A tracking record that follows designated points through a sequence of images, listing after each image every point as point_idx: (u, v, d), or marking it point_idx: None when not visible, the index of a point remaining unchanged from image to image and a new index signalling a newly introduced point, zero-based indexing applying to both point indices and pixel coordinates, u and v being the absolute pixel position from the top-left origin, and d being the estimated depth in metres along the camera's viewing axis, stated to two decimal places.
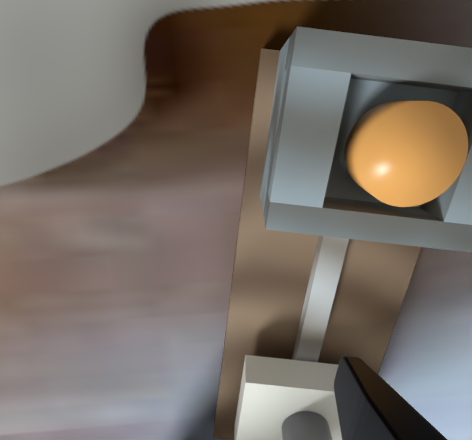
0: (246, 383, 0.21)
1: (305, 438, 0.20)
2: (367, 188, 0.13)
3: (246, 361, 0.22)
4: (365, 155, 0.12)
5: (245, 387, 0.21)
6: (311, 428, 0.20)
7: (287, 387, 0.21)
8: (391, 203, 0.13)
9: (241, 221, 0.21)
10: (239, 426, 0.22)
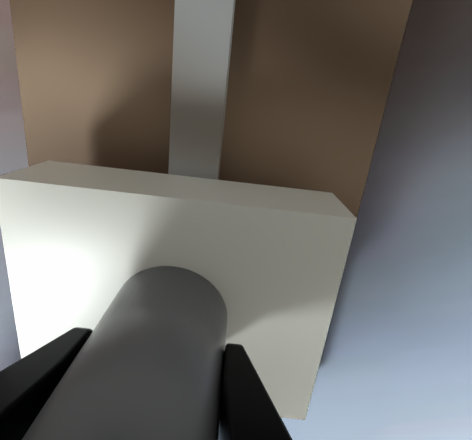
0: None
1: (127, 309, 0.07)
2: None
3: (39, 164, 0.10)
4: None
5: None
6: (158, 291, 0.08)
7: (103, 191, 0.08)
8: None
9: None
10: (16, 313, 0.09)
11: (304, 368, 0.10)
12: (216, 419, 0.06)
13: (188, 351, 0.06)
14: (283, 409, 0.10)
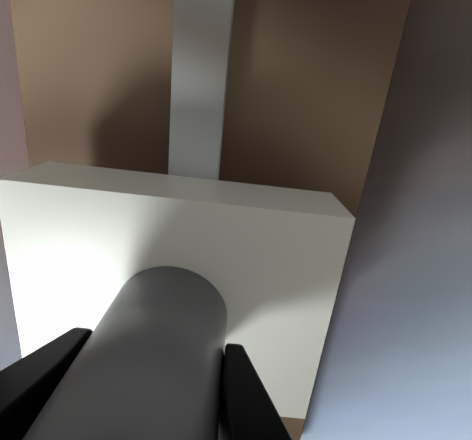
0: None
1: (127, 309, 0.07)
2: None
3: (39, 165, 0.10)
4: None
5: (0, 196, 0.08)
6: (158, 291, 0.08)
7: (103, 192, 0.08)
8: None
9: None
10: (17, 313, 0.09)
11: (304, 367, 0.10)
12: (215, 418, 0.06)
13: (188, 351, 0.06)
14: (283, 408, 0.10)
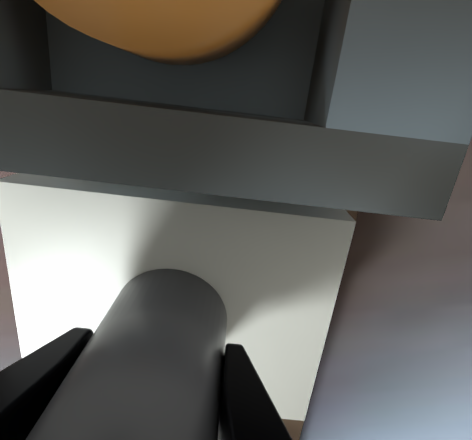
0: None
1: (127, 312, 0.07)
2: None
3: None
4: None
5: (0, 199, 0.08)
6: (158, 294, 0.08)
7: (103, 195, 0.08)
8: (108, 35, 0.04)
9: None
10: (17, 315, 0.09)
11: (303, 370, 0.10)
12: (215, 422, 0.06)
13: (188, 355, 0.06)
14: (282, 410, 0.10)
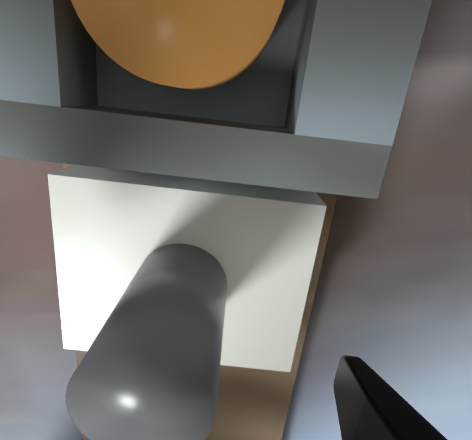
0: (50, 177, 0.10)
1: (152, 271, 0.09)
2: (99, 43, 0.06)
3: None
4: None
5: (51, 188, 0.10)
6: (175, 260, 0.10)
7: (132, 185, 0.10)
8: (155, 78, 0.06)
9: None
10: (59, 282, 0.12)
11: (288, 328, 0.12)
12: (219, 344, 0.08)
13: (199, 298, 0.09)
14: (272, 363, 0.13)
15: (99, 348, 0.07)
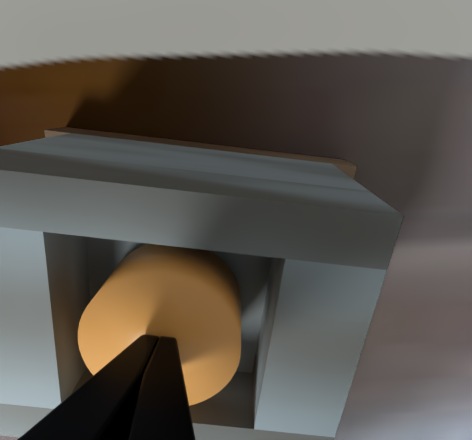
0: None
1: None
2: None
3: None
4: (86, 345, 0.08)
5: None
6: None
7: None
8: None
9: None
10: None
11: None
12: None
13: None
14: None
15: None
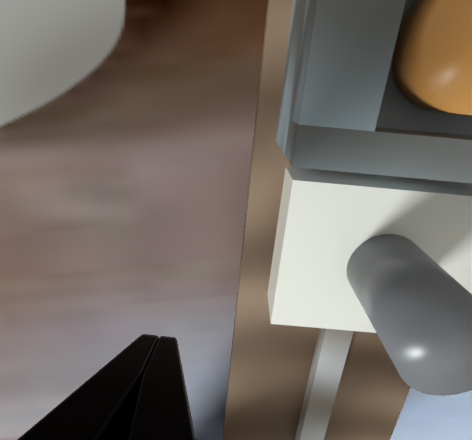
0: (294, 182, 0.13)
1: (398, 256, 0.12)
2: (432, 89, 0.09)
3: (289, 169, 0.14)
4: (432, 37, 0.09)
5: (292, 191, 0.13)
6: (404, 247, 0.12)
7: (360, 187, 0.13)
8: (465, 110, 0.09)
9: (252, 178, 0.16)
10: (280, 268, 0.14)
11: None
12: None
13: (451, 276, 0.11)
14: None
15: (432, 310, 0.09)
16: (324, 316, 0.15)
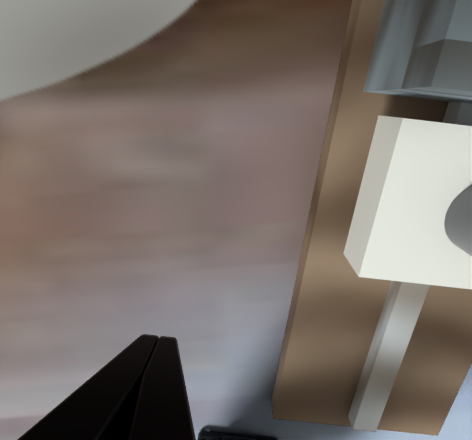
0: (403, 120, 0.12)
1: None
2: None
3: None
4: None
5: (400, 130, 0.13)
6: None
7: (471, 127, 0.12)
8: None
9: (335, 132, 0.16)
10: (377, 215, 0.14)
11: None
12: None
13: None
14: None
15: None
16: (415, 269, 0.15)
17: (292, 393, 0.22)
